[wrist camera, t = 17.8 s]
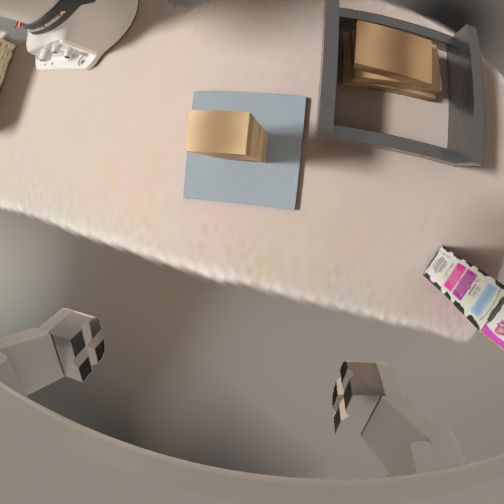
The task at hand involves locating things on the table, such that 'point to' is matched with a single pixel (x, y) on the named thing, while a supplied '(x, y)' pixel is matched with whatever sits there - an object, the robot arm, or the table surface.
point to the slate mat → (244, 172)
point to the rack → (459, 78)
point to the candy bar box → (470, 292)
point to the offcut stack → (390, 61)
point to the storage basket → (5, 57)
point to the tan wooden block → (226, 135)
